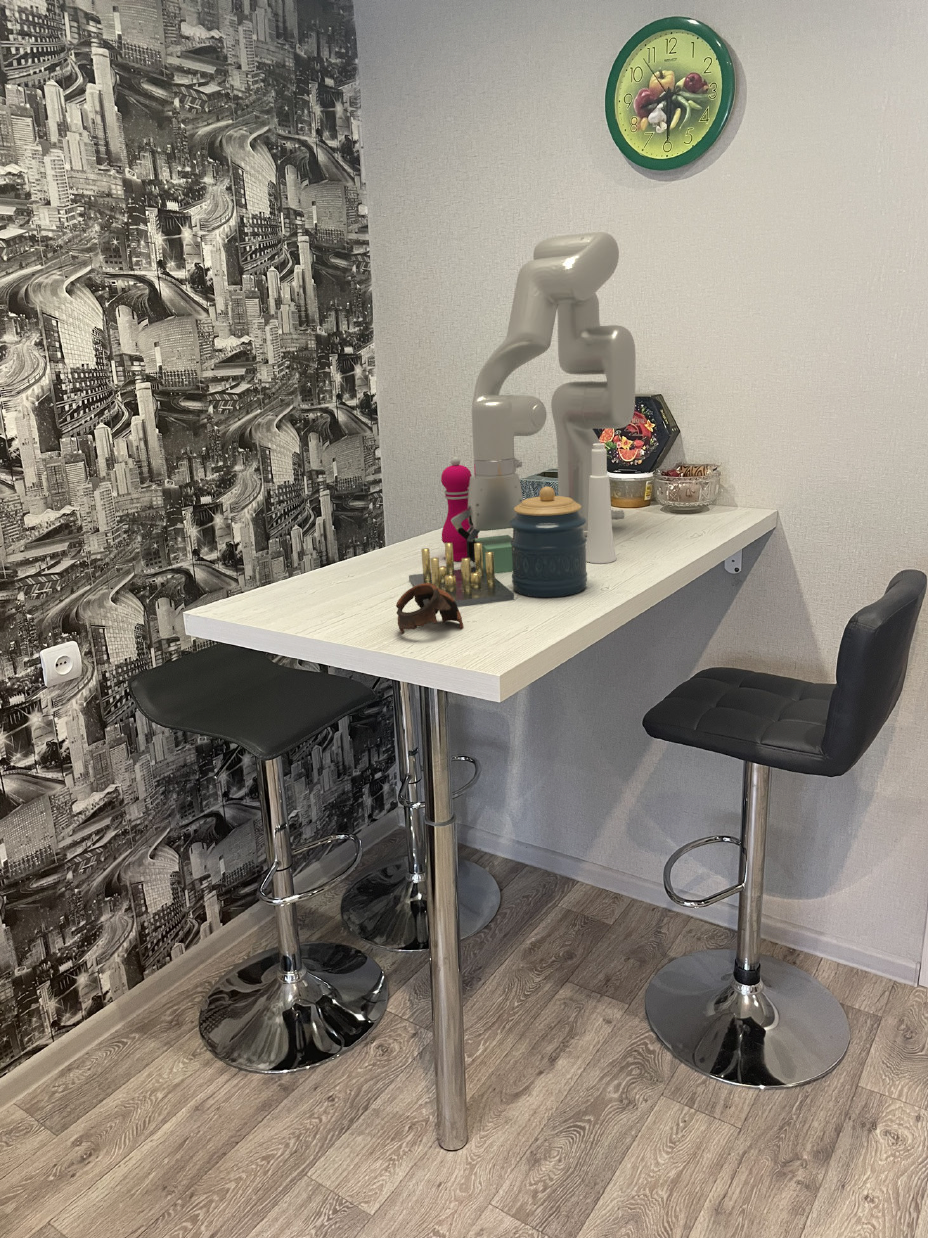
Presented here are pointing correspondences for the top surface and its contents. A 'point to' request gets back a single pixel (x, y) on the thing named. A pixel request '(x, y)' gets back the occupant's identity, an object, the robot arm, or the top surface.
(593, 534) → the cosmetic bottle
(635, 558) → the top surface
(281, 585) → the top surface
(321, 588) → the top surface
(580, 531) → the canister
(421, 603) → the brown curved shards
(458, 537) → the pepper mill
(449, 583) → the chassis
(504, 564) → the green boxy piece
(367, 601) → the top surface
